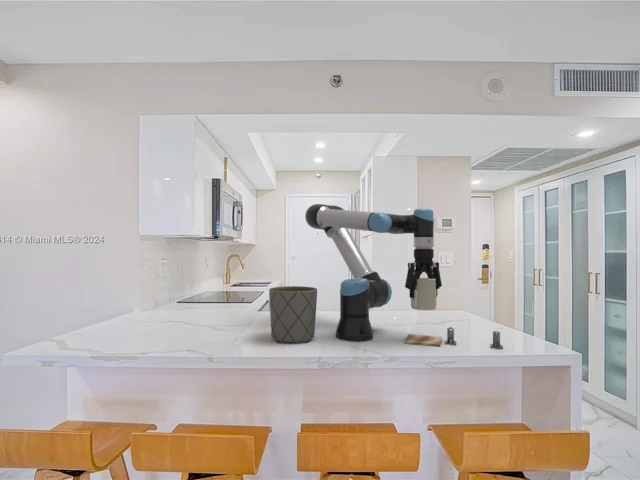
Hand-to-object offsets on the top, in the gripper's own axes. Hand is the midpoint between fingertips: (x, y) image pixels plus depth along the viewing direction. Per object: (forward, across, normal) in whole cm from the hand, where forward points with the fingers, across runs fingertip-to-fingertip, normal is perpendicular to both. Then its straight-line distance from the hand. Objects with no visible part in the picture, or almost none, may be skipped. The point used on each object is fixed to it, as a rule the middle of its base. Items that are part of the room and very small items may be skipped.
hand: (423, 305), depth 151 cm
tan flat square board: (+14, 0, 0) cm, 14 cm away
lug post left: (+14, +7, -7) cm, 17 cm away
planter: (+14, -45, +24) cm, 53 cm away
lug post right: (+14, +18, -18) cm, 29 cm away
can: (+1, 0, 0) cm, 1 cm away
